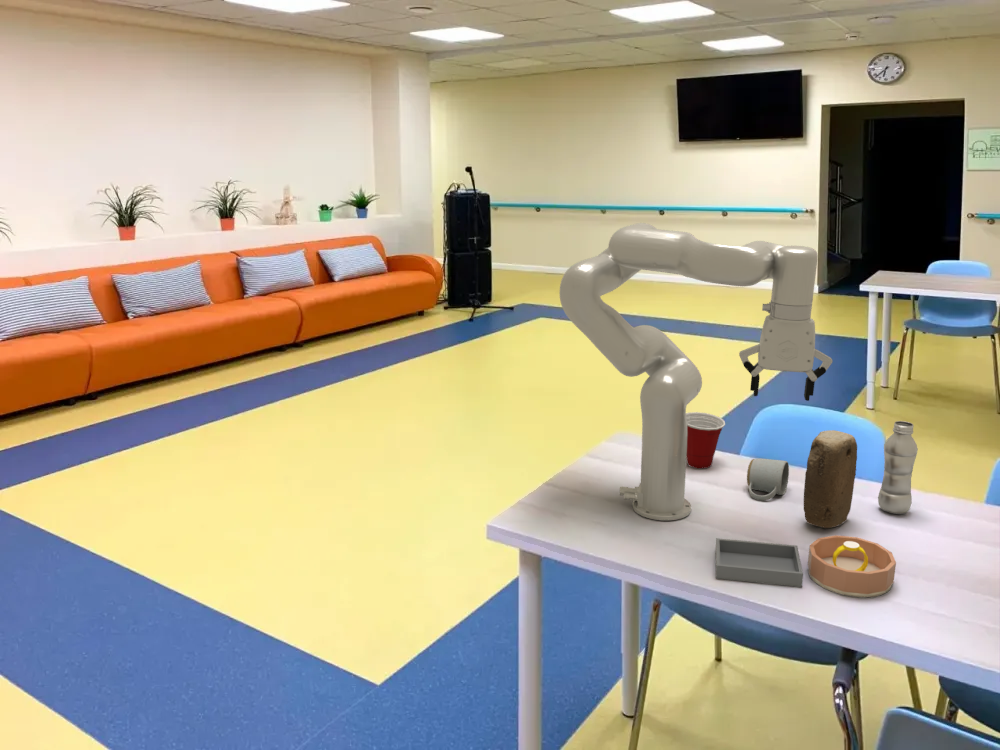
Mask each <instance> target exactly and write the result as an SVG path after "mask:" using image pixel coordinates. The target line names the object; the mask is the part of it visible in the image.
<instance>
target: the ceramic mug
mask: <svg viewBox="0 0 1000 750" xmlns="http://www.w3.org/2000/svg"><path fill="white" fill-rule="evenodd" d="M789 475H790V467H789V462H788V461H787V460H781V459H770V458H760V457H759V458H753V459H751V460H750V462H749V464H748V467H747V471H746V483H747V485H748V491H749V495H750V497H752V498H753V499H754V500H756V501H759V502H760V501H761V502H765V501H769V500H771V499H773V498H774V497H775V496H776V495H780V496H783V495H785V493H786V491H787V487H788V483H789V478H790V477H789ZM752 490H756V491H761V492H766V493H767V494H765V495H759V494H757V493H754V492H753V491H752Z"/></svg>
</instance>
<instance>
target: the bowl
mask: <svg viewBox="0 0 1000 750" xmlns="http://www.w3.org/2000/svg"><path fill="white" fill-rule="evenodd" d="M846 541H853V542H856V543H858V544H859V545H860V547H861V548H863V550H864V551H865V553H866V555H867V557H868V566H867V567H866V569H865V571H854V570H857V569H858V568H860V567H861V566H862V564H863V563H864V554H863V553H862V552H861V551H859V550H858V551H848V550H844V551H842V552H841V553H840V554H839V555H838V556H837V559H836V565H837V566H838V567H837V566H834V563H833V561H832V558H833V553H834V552H835V551H836V550H837V548H839V547H840V546H842V545H843V544H844V542H846ZM896 565H897V562H896V559H895V557H894V555H893V552H892V551H890V550H889V549H888V548H887V549H886V548H885V547H884V546H882V545H881V544H879V543H877V542H874V541H871V540H867V539H865V538H861V537H858V536H847V535H836V534H835V535H829V536H824V537H818V538H817V539H816V540H814V541H813V542H812V543H810V544H809V548H808V559H807V567H808V569H807V571H808V575H809V577H810V579H811V580H812V581H813V582H814V583H815V584H817V585H818V586H819V587H822V588H823V589H825V590H827V591H830V592H832V593H835V594H838V595H842V596H846V597H852V598H853V597H854V598H873V597H874V598H875V597H879V596H882V595H884V594H887V593H888V592H889V591H890V590H891V588H892V585H893V584H894V583H895V573H896Z"/></svg>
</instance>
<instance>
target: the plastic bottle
mask: <svg viewBox="0 0 1000 750" xmlns="http://www.w3.org/2000/svg"><path fill="white" fill-rule="evenodd" d="M892 432H893V433H892V434H891V435H890V436H889V437H887V439H886V440H885V442H884V444H883V454H884V455H883V456H884V463H883V464H884V466H883V468H884V469H883V477H882V482H881V486H880V487H881V488H880V490H879V493H878V495H877V500H878V501H877V502H878V506H879V507H880V509H881V510H883V511H885V512H887V513H890V514H895V515H903V514H904V515H905V514H906V513H907V512H909V511H910V509H911V507H912V503H913V502H912V501H913V500H912V499H913V498H912V477H913V476H912V475H913V474H912V473H913V471H914V465H915V462H916V458H917V455H918V449H919V448H918V445H917V442H916V440H915V439H914V437H913V436H912V435H913V434H914V424H913V423H912V422H909V421H904V420H897V421H894V424H893V427H892Z"/></svg>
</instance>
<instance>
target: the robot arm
mask: <svg viewBox="0 0 1000 750" xmlns="http://www.w3.org/2000/svg"><path fill="white" fill-rule="evenodd" d="M818 256H819V255H818V251H816V250H815V248H812V247H809V246H803V245H784V244H777V243H774V242H773V243H772V242H769V241H764V240H755V241H751V242H748V243H746V244H744V245H741V246H740V245H739V246H737V245H728V244H717V243H712V242H707V241H702V240H700V239H698V238H696V237H695V236H694V235H693V234H692V233H690V232H687V231H679V230H668V229H659V228H657V227H655V226H653V224H650V223H646V222H639V223H634V224H630V225H626V226H623V227H620V228H619V229H617V230H616V231H615V232H613V234H612V235H611V237H610V239H609V241H608V245H607V248H606V249H605V250H603V251H601V253H599V254H598V255H595V256H592V257H589V258H586V259H583V260H580V261H577V262H576V263H574V264H573V265H571V266H570V267H569V268H568V269H567V270H566V271H565V272H564V274H563V276H562V278H561V280H560V286H559V299H560V305H561V308H562V310H563V312H564V314H565V316H566V317H567V318H568V320H570V322H572V324H573V325H574V327H576V328H577V329H578V330H579V331H581V333H582V334H584V335H585V337H587V338H588V339H589V341H590V342H591V343H592V344H593V345H594V346H595V348H596V349H598V351H599V352H600V353H601V354H602V355H603V356H604V357H605V358H606V359H607V360H608V361H609V363H611V365H612V366H613V367H614V368H615V369H616V370H617V371H618V372H619V373H620V374H622V375H624V376H626V377H630V378H631V377H633V378H634V377H639V376H640V375H642V374H644V373H646V374H647V375H648V377H647V378H646V380H645V381H644V382H643V385H642V387H641V389H640V395H639V399H640V401H639V402H640V409H641V423H642V426H641V429H642V430H641V458H640V459H641V460H640V462H641V463H640V464H641V465H640V482H639V485H638V486H634V487H629V486H628V487H627V486H620V487H619V496H623V500H632V509H633V510H634V512H635V513H636V514H637V515H639V516H641V517H643V518H646V519H650V520H655V521H676V520H681V519H684V518H685V517H688V516H689V515H690V514H691V512H692V511H691V510H692V506H691V505H692V504H691V503H690V502H689V500H688V499H686V498H685V495H686V493H685V491H686V489H685V488H686V473H687V472H686V471H687V470H686V469H687V419H686V413H687V411H686V410H687V405H689V404H690V403H691V402H692V401H693V400H694V399H695V398H696V397H697V396H698V395H699V393H700V392H701V390H702V385H703V378H702V374H701V372H700V370H699V369H698V367H697V366H696V365H695V364H694V363H693V361H692V360H691V359H690V358H689V357H688V356H687V355H686V353H684V352H683V350H681V348H679V347H678V346H677V345H676V344H675V342H673V341H672V339H671V338H670V337H668V336H667V335H666V334H665V333H664V331H661V329H659V328H657V327H655V326H652V325H647V324H642V325H638V326H635V327H634V326H632V325H631V324H630V323H629V322H628V321H627V320H626V319H625V318H624V317H623V315H621V314H620V312H618V311H617V310H616V308H614V307H612V306H611V305H609V304H608V303H606V302H604V300H603V299H602V298H601V297H602V296H604V295H607V294H608V293H611V292H613V291H614V290H616V289H618V288H619V287H621V286H622V285H623V284H624V283H626V282H627V281H628V280H630V279H631V278H633V277H634V276H635V275H636V274H637V273H639V272H640V271H642V270H643V271H651V272H658V273H659V272H660V273H667V274H674V275H680V276H683V277H685V278H689V279H694V280H697V281H701V282H705V283H709V284H710V283H712V284H718V285H723V286H724V285H726V286H732V287H734V286H735V287H752V286H755V285H757V284H758V283H760V282H762V281H765V280H770V279H771V280H772V287H771V288H772V289H771V299H770V301H769V303H768V302H767V303H762V310H761V311H763V312H767V313H768V315H766V316H765V317H764V318H765V319H764V322H763V324H762V329H761V333H760V338H759V343H757V344H755V345H753V346H750V347H748V348H745V349H741V351H739V352H738V354H739V355H738V356H739V357H740V360H741V363H742V365H743V367H744V368H745V370H746V371H748V373H749V374H750V375H751V380H750V392H751V391H752V392H753V397H758V396H759V387H760V373H761V372H762V371H763V370H767V371H779V372H791V373H805V374H806V375H807V377H806V378H805V382H804V383H805V384H804V394H803V396H804V400H805V401H806V402H807V401H808V402H809V401H810V397H811V396H814V391H815V390H814V389H815V382H817V380H818V379H819V378H821V377H822V376H823V375H825V373H826V372H827V371H828V370H829V368H830V366H831V365H832V364H833V359H832V357H830V356H829V355H826V354H825V353H823V352H821V351H820V350H818V349H816V325H815V323H816V322H815V320H814V319H813V318H811V316H812V308H813V307H812V306H813V301H814V293H815V292H814V291H815V284H816V283H815V282H816V275H817V267H818ZM755 354H757V362H756V363H755V364H754V365H753V364H752V363H751V361H750V360H749V356H753V355H755ZM815 358H816V359H817V360H819V361H821V362H822V363H821V364H820V365H819V366H818V367H816V369H813V368H814V360H815Z"/></svg>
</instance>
